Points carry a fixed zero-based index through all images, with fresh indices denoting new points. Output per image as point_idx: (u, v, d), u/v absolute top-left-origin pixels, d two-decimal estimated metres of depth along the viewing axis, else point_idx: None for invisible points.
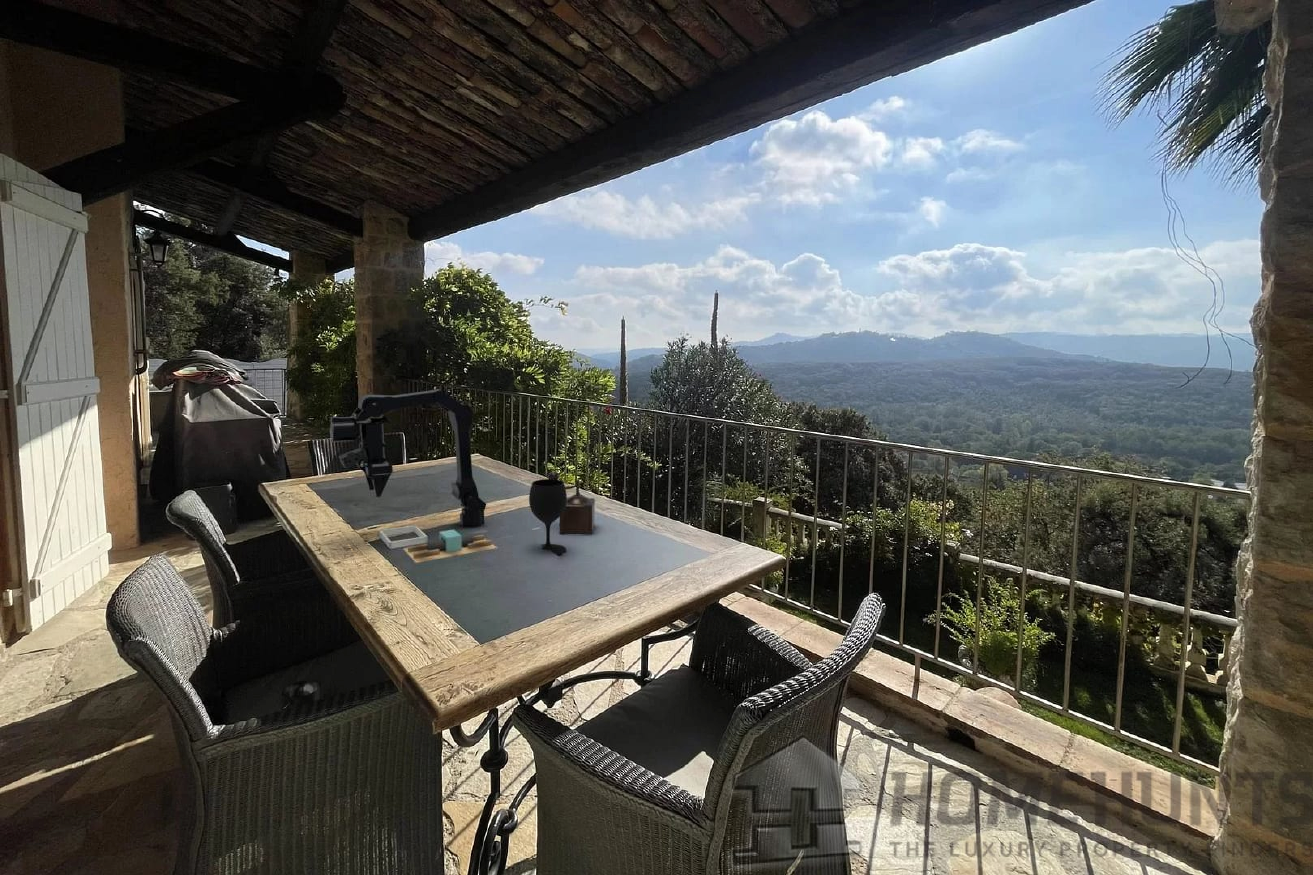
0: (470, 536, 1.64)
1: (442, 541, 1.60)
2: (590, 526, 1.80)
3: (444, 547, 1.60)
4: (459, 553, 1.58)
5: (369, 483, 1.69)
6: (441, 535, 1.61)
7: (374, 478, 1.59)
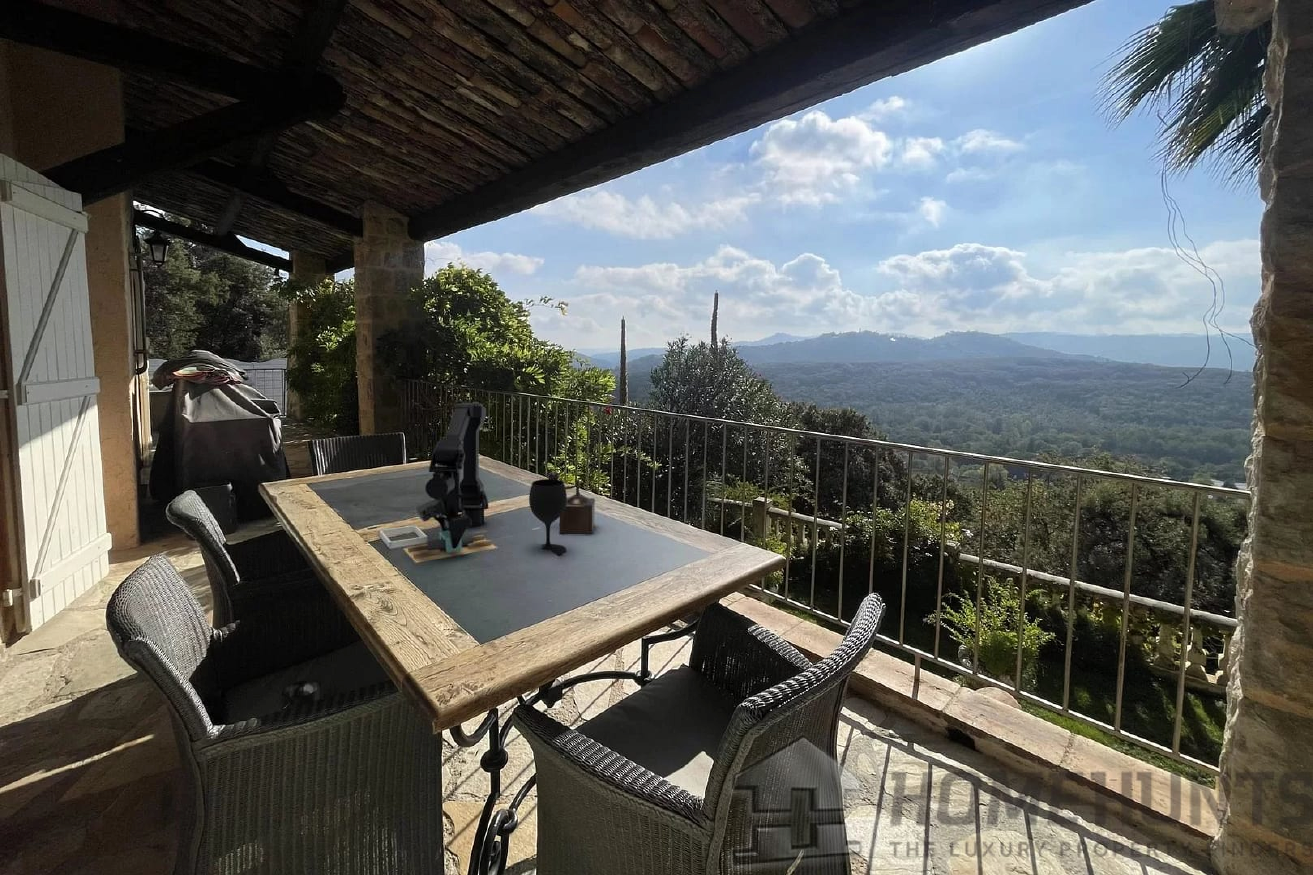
0: (470, 536, 1.64)
1: (442, 541, 1.60)
2: (590, 526, 1.80)
3: (444, 547, 1.60)
4: (459, 553, 1.58)
5: None
6: (441, 535, 1.61)
7: (452, 530, 1.56)
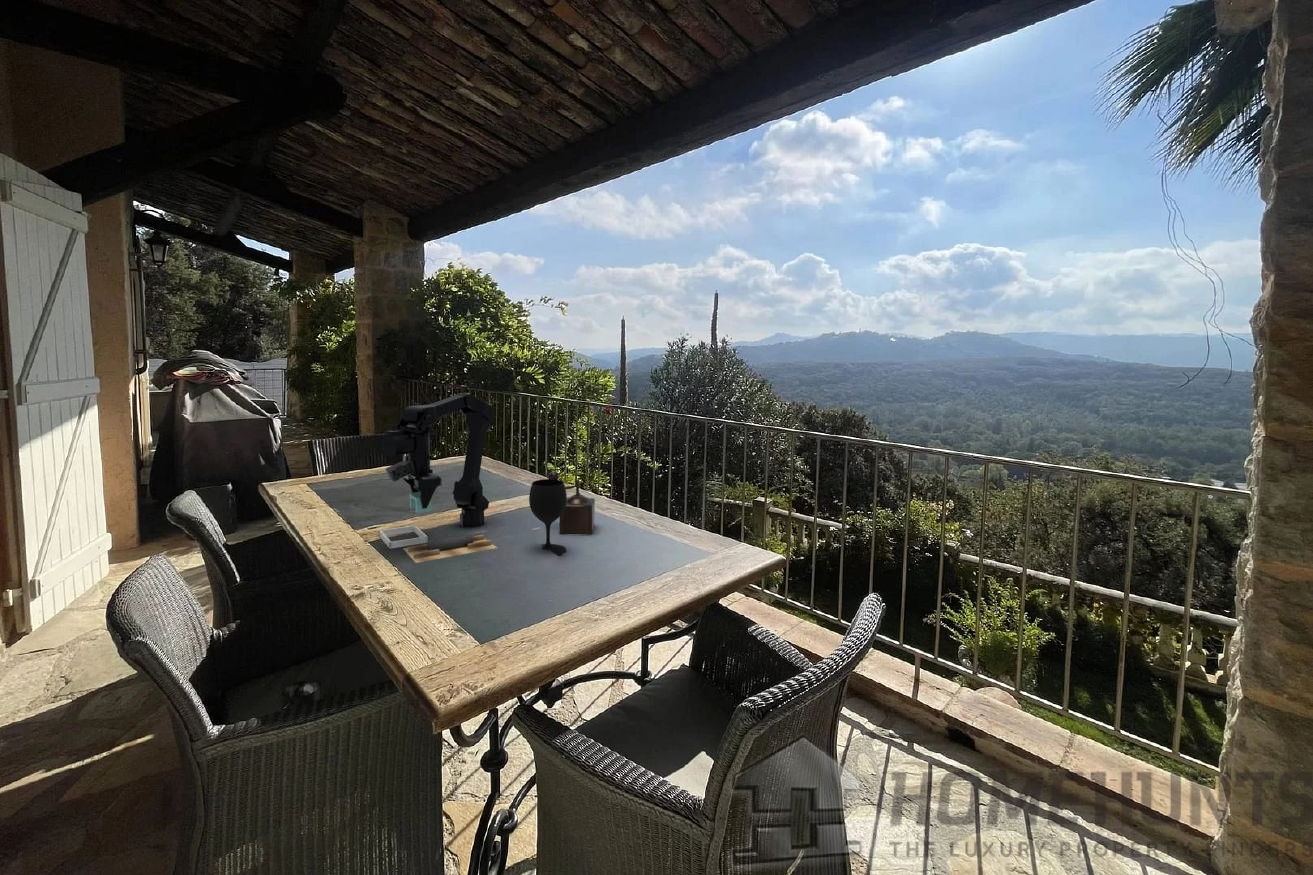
0: (470, 536, 1.64)
1: (442, 541, 1.60)
2: (590, 526, 1.80)
3: (444, 547, 1.60)
4: (459, 553, 1.58)
5: None
6: (411, 496, 1.64)
7: (421, 490, 1.59)
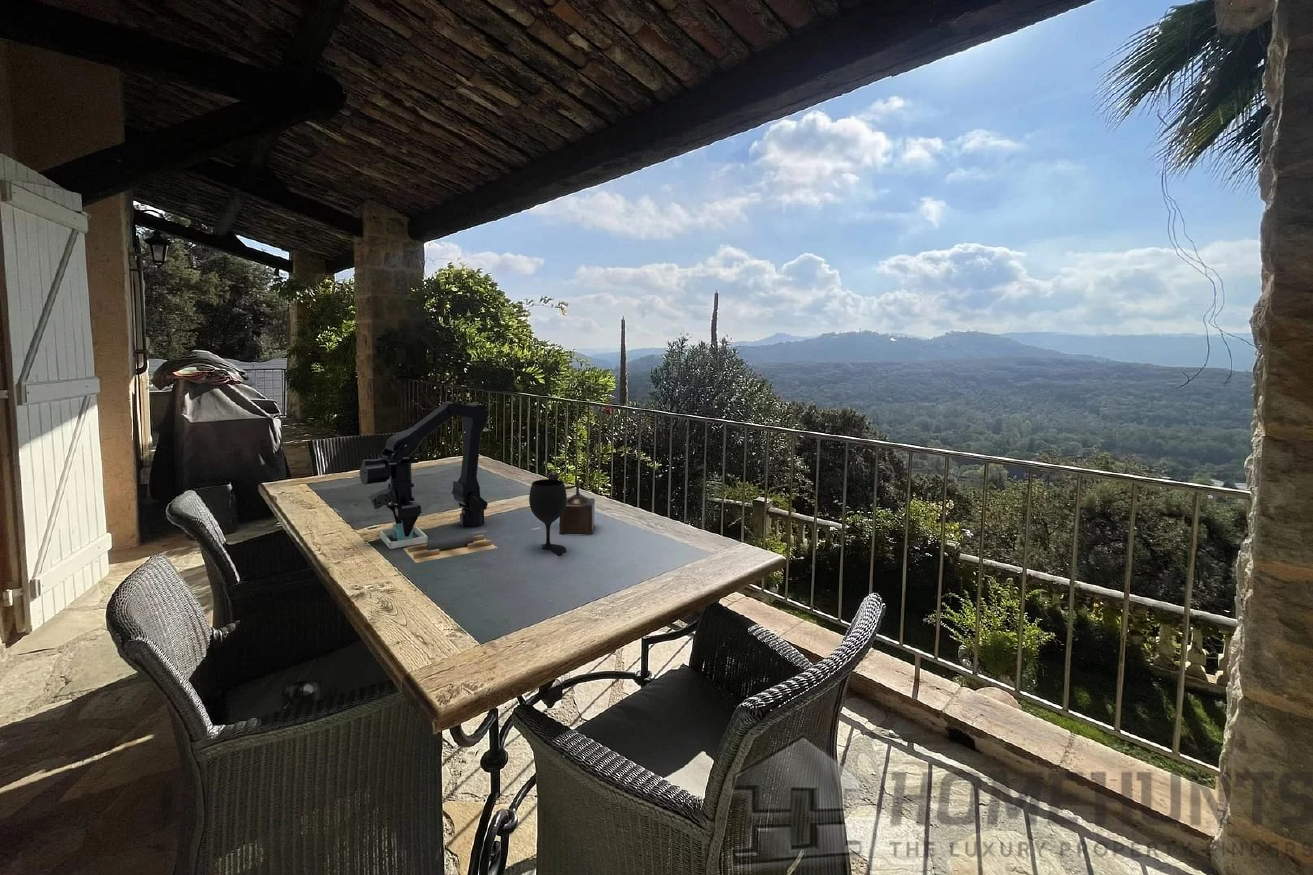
0: (470, 536, 1.64)
1: (442, 541, 1.60)
2: (590, 526, 1.80)
3: (444, 547, 1.60)
4: (459, 553, 1.58)
5: (397, 521, 1.71)
6: (393, 528, 1.68)
7: (403, 519, 1.62)
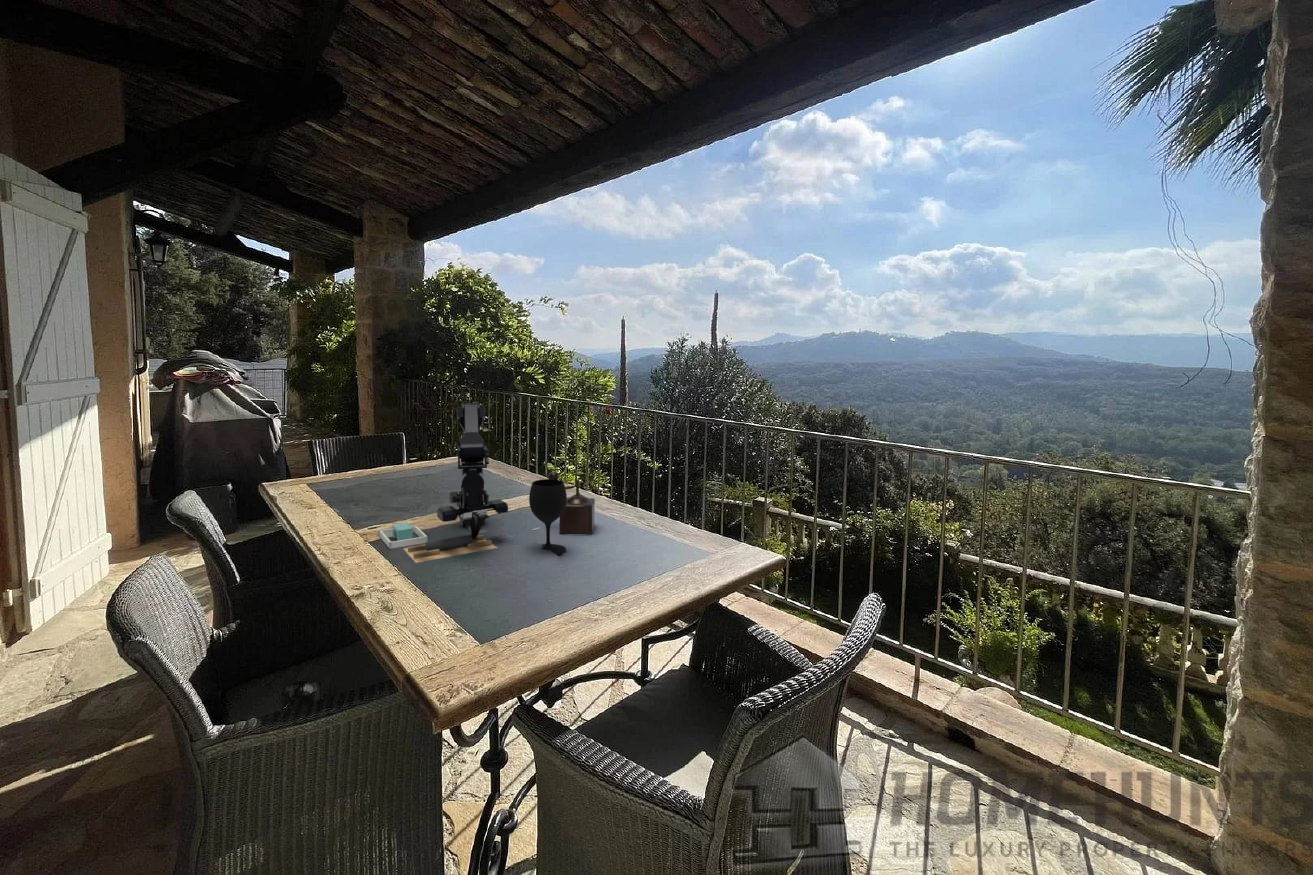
0: (469, 536, 1.64)
1: (441, 541, 1.59)
2: (590, 526, 1.80)
3: (443, 547, 1.59)
4: (459, 553, 1.58)
5: None
6: (393, 528, 1.68)
7: None
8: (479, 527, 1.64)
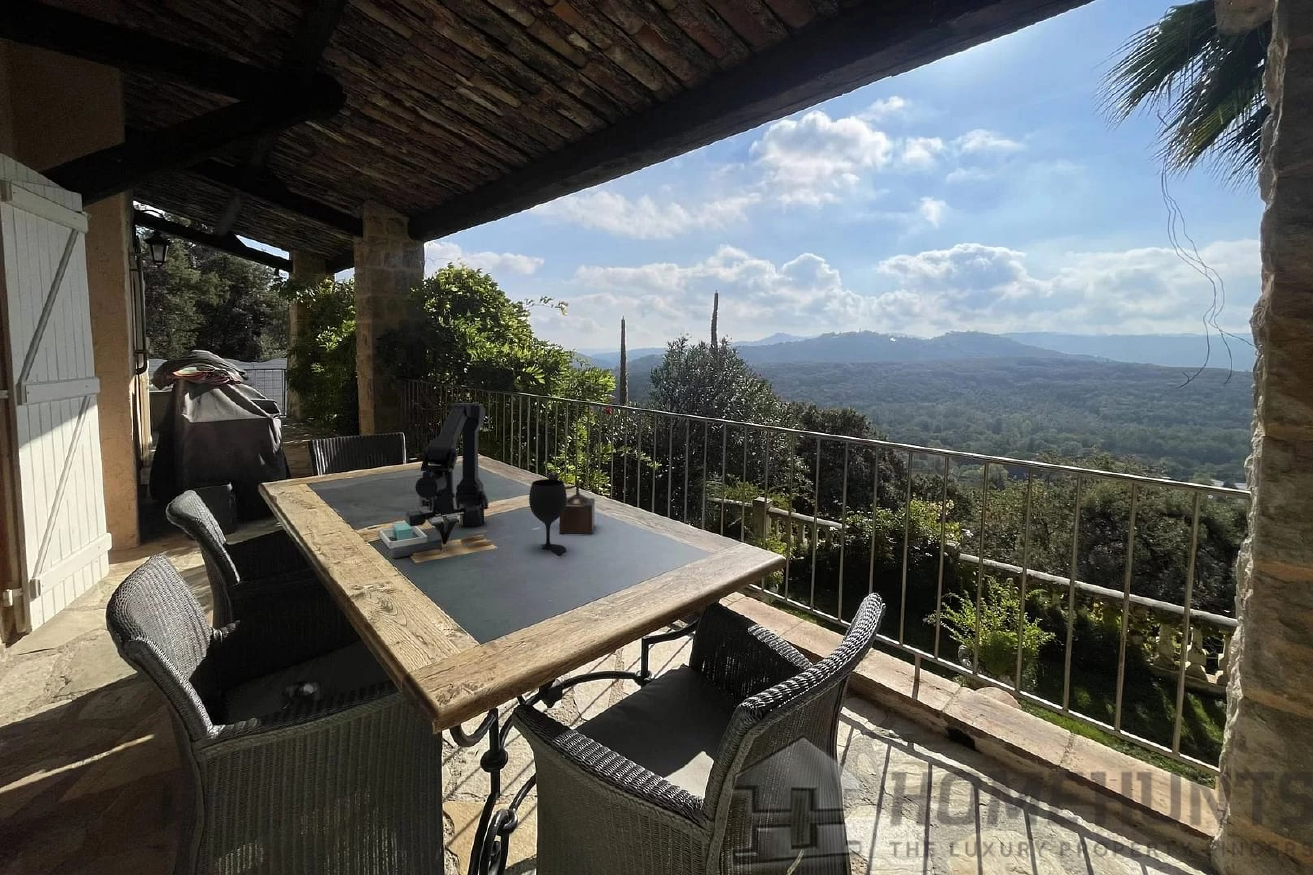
0: (439, 541, 1.59)
1: (409, 547, 1.55)
2: (590, 526, 1.80)
3: (411, 553, 1.54)
4: (459, 553, 1.58)
5: None
6: (393, 528, 1.68)
7: None
8: (449, 531, 1.59)
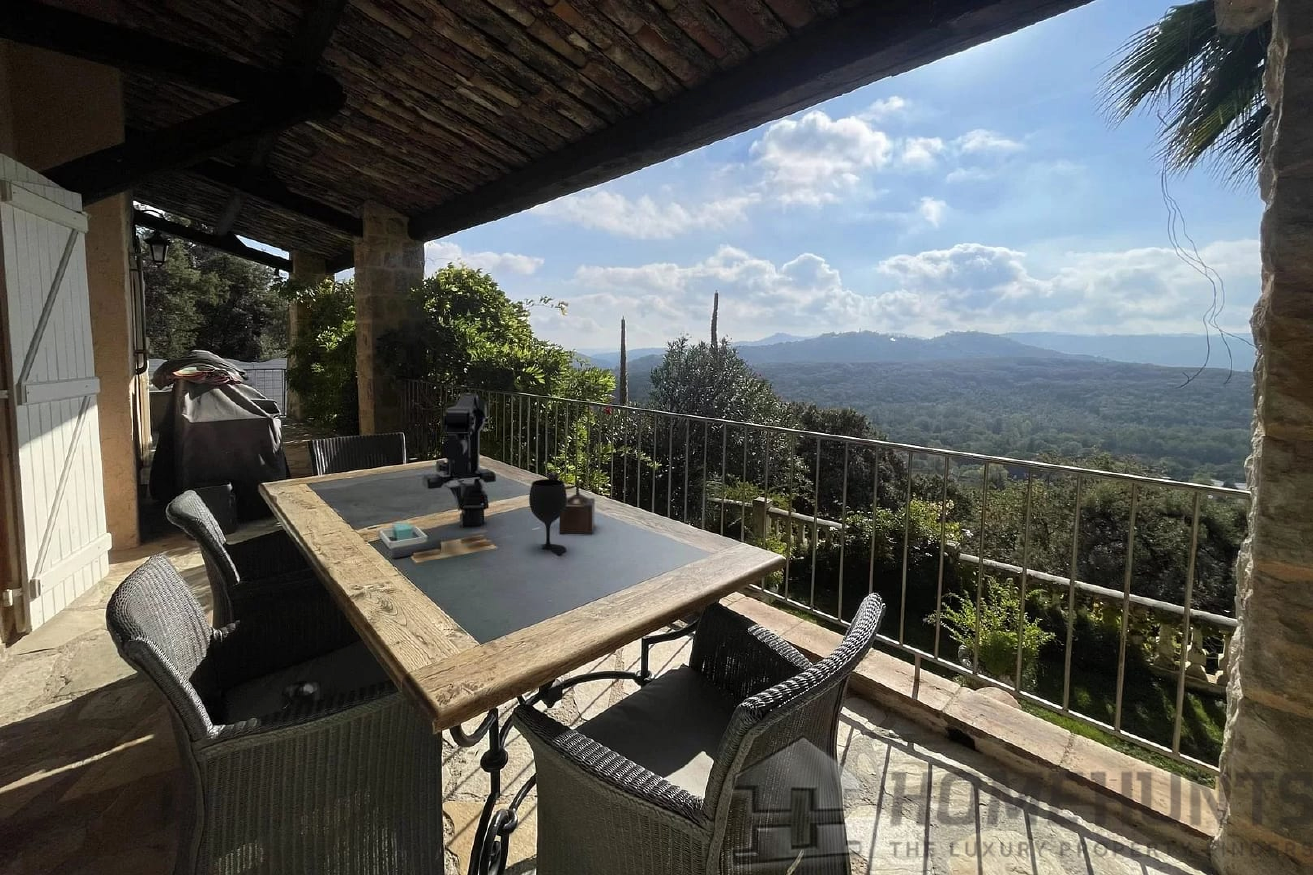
0: (438, 541, 1.59)
1: (408, 546, 1.55)
2: (590, 526, 1.80)
3: (410, 552, 1.54)
4: (459, 553, 1.58)
5: None
6: (393, 528, 1.68)
7: None
8: (465, 496, 1.61)
